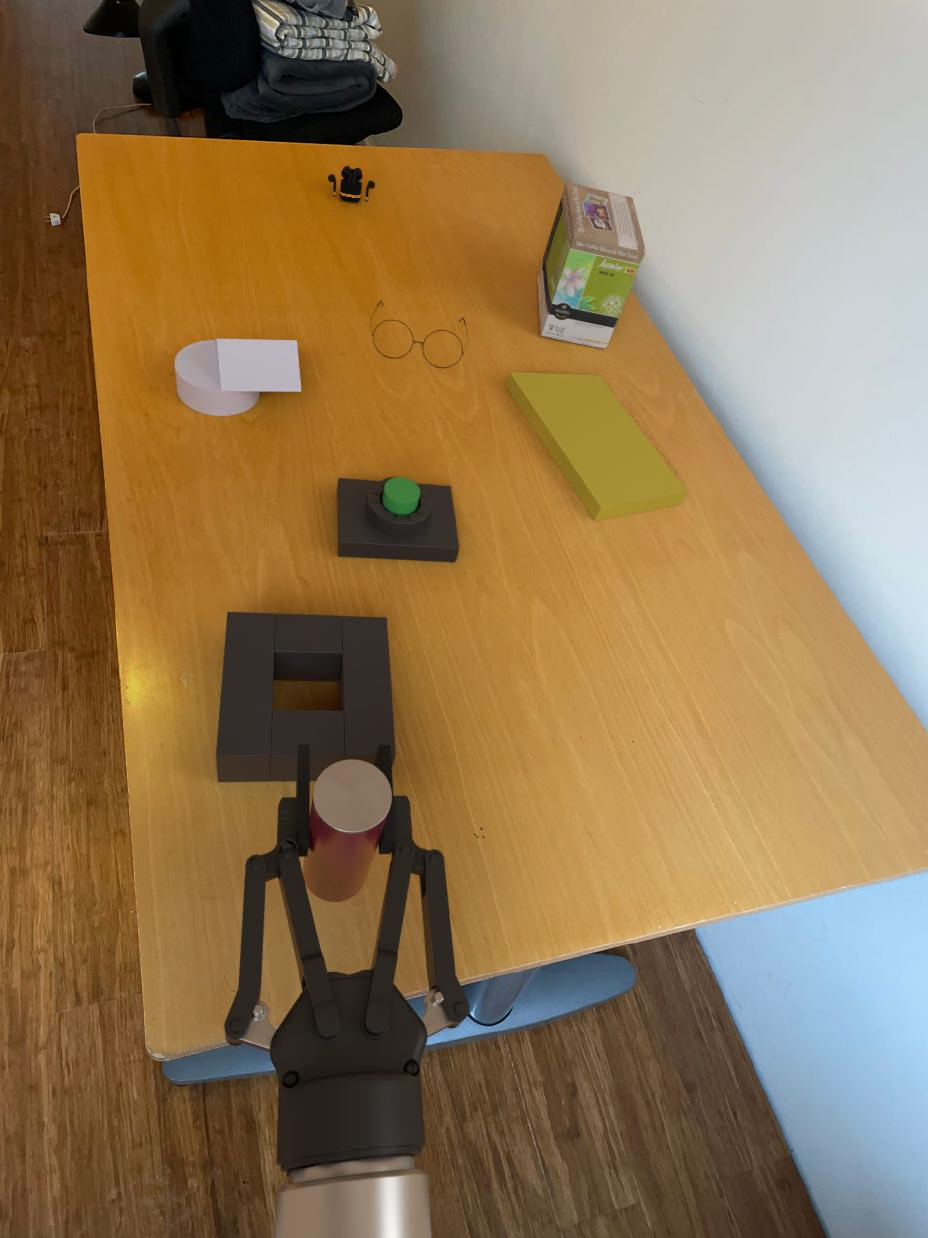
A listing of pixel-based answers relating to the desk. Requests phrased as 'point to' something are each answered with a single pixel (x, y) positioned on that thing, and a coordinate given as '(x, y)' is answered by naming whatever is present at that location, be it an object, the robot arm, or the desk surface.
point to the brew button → (401, 496)
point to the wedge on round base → (235, 373)
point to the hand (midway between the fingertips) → (343, 754)
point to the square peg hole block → (302, 652)
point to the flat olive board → (596, 444)
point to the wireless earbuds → (351, 184)
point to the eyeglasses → (416, 341)
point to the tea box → (588, 265)
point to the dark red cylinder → (345, 828)
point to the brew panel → (395, 523)
